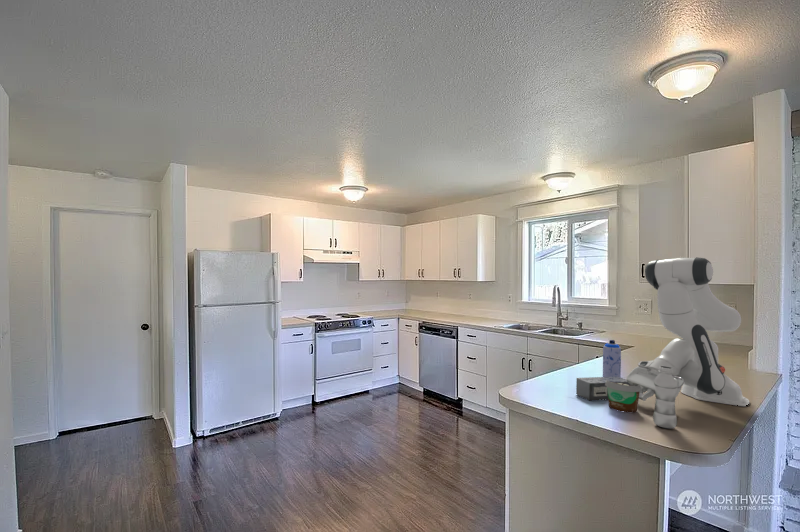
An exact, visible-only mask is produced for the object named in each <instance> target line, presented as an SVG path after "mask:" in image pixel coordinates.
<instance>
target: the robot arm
mask: <svg viewBox="0 0 800 532" xmlns="http://www.w3.org/2000/svg"><path fill="white" fill-rule="evenodd" d="M644 275H645V279H646V281H647V282H648V284H650V285H651V286H652V287H653V288H654V289H655V290H657V294H656V295H657V300H656V301H657V302H656V303H657V310H658V317H659V321H660V323H661V325H662V326H663V327H664V328H665V329H666V330H667V331H669V332H670V333H672V334H674V335H676V336H678V338H677V337H675V338H674V339H672V340H671V341H670V342H668V344H666V345H665V346H664V348H662V350H661V352H660V354H659V355H658V356H657V357H655V358H654V359H651V360H645V361H644V360H643V361H639V362H638V363H637V365H638V366H635V367H634V368H633V369H632V370H631V371H630V372H629V373H628V375H627V376H626V380H627V381H628V383H629V384H630V385H632V386H639V385H640V387H641V389H642V391H640V393H639V400H641V401H643V402H645V401H646V400H647V399H649V398H651V397H653V396H654V395H655V387H654V380H655V378H656V377H657V376H658V375H659V374H660V372H659V366H667V367H671V368H672V372H673V374H672V376H673V377H674V379H675V380H676V382H677V384H678V386H677V392H676V398H677V396H678V395H679V394H680V392H681V393H682V394H684V395H686V396H688V397H692V398H694V399H696V400H699V401H704V402H712V403H718V404H725V405H731V406H732V405H733V406H737V405H738V406H737V407H747V406H746V405H748V404H749V405H750V400H749V398H747V397H745V396H744V395H743V392H742V388H741V386H740V385H739V384H738V383H737V382H736V381H734V380H733V379H731V378H730V377H729V376H728V375H726V374H725V372H726V368H725V366H724V365H722V364H720V363H719V346H718V345H717V343H715V342H714V341H713V340H712V339H710V337H709V335H708V331H710V332H717V333H718V332H719V333H725V332H727V333H729V332H735V331H736V330H738V329H739V327H740V326H741V324H742V316H741V314H740V312H739V311H738V310H737V309H736V308H734V307H732V306H729V305H727V304H726V303H724V302H723V301H721V300H720V299H719V298H718V297H716V295H715V294H713V292H712V290H711V287H710V284H709V283H710V282H711V281H712V279H713V275H714V268H713V265H712V263H711V261H709V259H707V258H705V257H675V258H666V259H661V260H660V259H655V260H651V261H649V262H648V263H647V264H646V266H645V270H644ZM749 405H748V406H749Z"/></svg>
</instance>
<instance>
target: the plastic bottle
mask: <svg viewBox="0 0 800 532" xmlns="http://www.w3.org/2000/svg"><path fill="white" fill-rule="evenodd" d="M659 372H660V374H659V375H658V376H657V377H656V378H655V380H654V387H655V394H654V395H655V403H654V410H653V414H652V421H653V423H654V424H655V426H658V427H660V428H663V429H670V430H672V429H675V428H676V426H677V423H678V417H677V414H676V398H677V397H676V392H677V386H678V384H677V382H676V380H675V379H674V377H673V376H672V374H673V372H672V368H671V367H667V366H659Z"/></svg>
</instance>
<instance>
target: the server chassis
mask: <svg viewBox="0 0 800 532" xmlns="http://www.w3.org/2000/svg"><path fill="white" fill-rule="evenodd" d="M607 379H608V381H609V382H615V383H625V384H628V385H630V384H629V383H628V381H627V378H623V377H621V378H620V377H618V376H617V377H603V376H597V377H596V376H595V377H594V376H593V377H591V376H589V377H576V381H575V382H576V386H575V387H576V388H575V389H576V391H575V392H576V394H577V395H576V394H575V395H576V396H578V395H579V396H578V397H580V396H581V398H582V397H583V399H584V398H585V399H584V400H586V399H587V400H586V401H588V400H589V402H592V400H597V401H608V390H607V386H606V385H605V383H606V380H607ZM631 386H632V385H631Z"/></svg>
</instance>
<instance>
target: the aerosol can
mask: <svg viewBox="0 0 800 532" xmlns="http://www.w3.org/2000/svg"><path fill="white" fill-rule="evenodd" d="M621 348H622V347H621V346H620V345H619V344H617V343H616V341H615V340H614V339H610V340H609V342H606V343H605V344H604V345H603V347H602V377H617V376H618V377H620V378H622V377H621V375H622V374H621V372H622V371H621V368H622V367H621V366H622V365H621V364H622V349H621Z"/></svg>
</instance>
